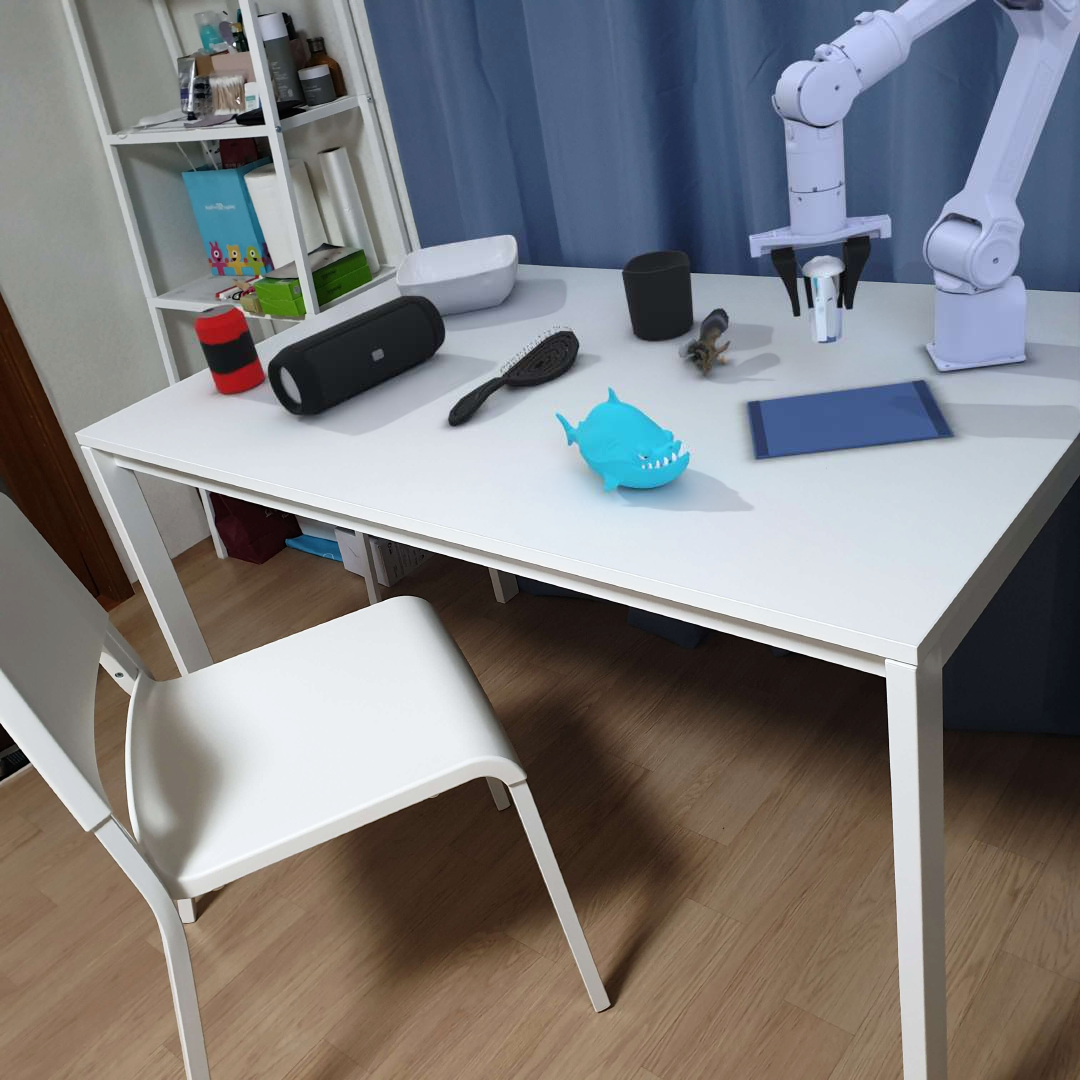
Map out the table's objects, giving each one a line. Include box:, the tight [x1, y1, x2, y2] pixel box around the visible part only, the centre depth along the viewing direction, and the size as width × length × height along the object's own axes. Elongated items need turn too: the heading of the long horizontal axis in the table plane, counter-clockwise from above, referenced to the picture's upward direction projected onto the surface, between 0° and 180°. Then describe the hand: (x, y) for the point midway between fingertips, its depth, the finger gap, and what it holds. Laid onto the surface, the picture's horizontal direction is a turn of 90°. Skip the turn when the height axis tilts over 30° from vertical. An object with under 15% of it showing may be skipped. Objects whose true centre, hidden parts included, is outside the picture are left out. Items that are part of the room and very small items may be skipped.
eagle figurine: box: [677, 308, 731, 377], centre depth 134 cm, size 8×7×9 cm
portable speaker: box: [267, 295, 446, 416], centre depth 150 cm, size 26×10×10 cm, turn 134°
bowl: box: [395, 234, 519, 317], centre depth 177 cm, size 20×20×8 cm
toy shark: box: [555, 386, 691, 492], centre depth 110 cm, size 10×18×11 cm, turn 45°
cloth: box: [746, 379, 954, 460], centre depth 115 cm, size 20×14×1 cm
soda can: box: [193, 304, 266, 395], centre depth 160 cm, size 8×8×12 cm
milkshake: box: [795, 255, 845, 344], centre depth 115 cm, size 4×5×10 cm
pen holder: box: [621, 250, 694, 342], centre depth 147 cm, size 9×9×10 cm
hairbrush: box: [447, 325, 581, 427], centre depth 140 cm, size 8×4×25 cm
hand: (822, 310), depth 116 cm, fingers closed on milkshake, 5 cm apart
